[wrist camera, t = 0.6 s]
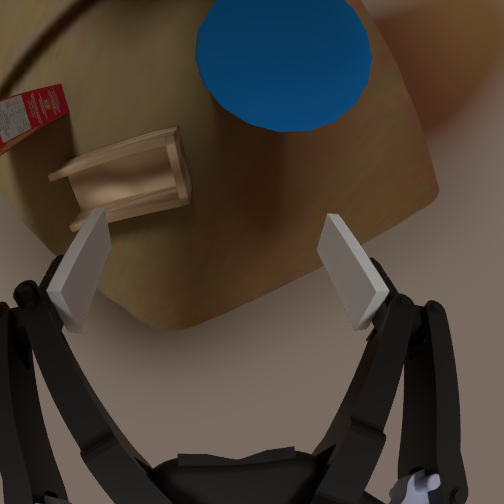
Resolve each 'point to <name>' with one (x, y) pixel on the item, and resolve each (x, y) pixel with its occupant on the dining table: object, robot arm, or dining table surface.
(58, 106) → the food packaging
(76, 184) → the u rest
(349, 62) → the thermos
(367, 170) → the dining table surface
